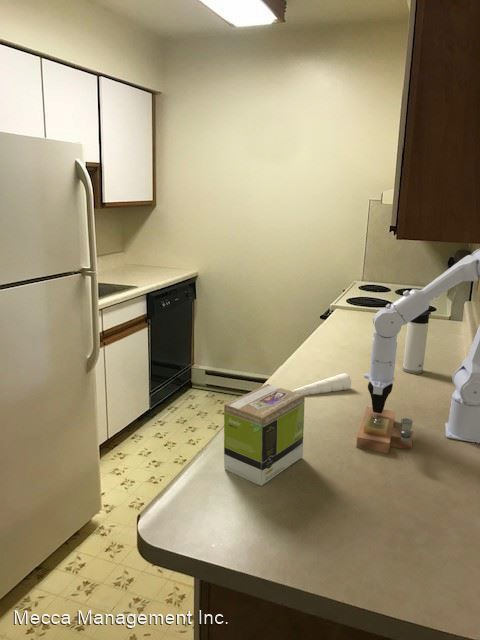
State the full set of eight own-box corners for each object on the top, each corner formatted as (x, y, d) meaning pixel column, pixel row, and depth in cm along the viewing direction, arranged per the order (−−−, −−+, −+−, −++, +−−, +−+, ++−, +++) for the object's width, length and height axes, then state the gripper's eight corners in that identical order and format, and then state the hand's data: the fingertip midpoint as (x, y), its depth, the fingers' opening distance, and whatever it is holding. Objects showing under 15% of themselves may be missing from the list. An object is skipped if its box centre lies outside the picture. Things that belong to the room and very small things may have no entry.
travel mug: (425, 375, 160) (432, 314, 155) (403, 373, 161) (410, 312, 156) (422, 368, 166) (429, 310, 161) (401, 366, 167) (407, 308, 162)
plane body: (413, 423, 125) (415, 407, 124) (410, 457, 108) (412, 439, 107) (366, 415, 129) (367, 400, 128) (356, 447, 112) (357, 429, 111)
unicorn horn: (270, 394, 142) (271, 378, 141) (343, 385, 150) (344, 370, 149) (277, 400, 138) (278, 384, 136) (351, 391, 146) (353, 376, 144)
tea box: (265, 443, 113) (268, 381, 109) (303, 458, 107) (307, 394, 103) (221, 469, 102) (223, 402, 98) (261, 488, 96) (264, 417, 92)
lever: (401, 423, 115) (402, 414, 114) (412, 425, 114) (413, 416, 113) (398, 442, 106) (400, 432, 105) (410, 444, 105) (412, 434, 104)
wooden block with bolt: (388, 425, 118) (389, 418, 117) (386, 436, 112) (386, 428, 112) (366, 421, 119) (367, 414, 119) (363, 432, 114) (364, 424, 114)
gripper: (369, 348, 128) (364, 398, 131) (362, 366, 115) (357, 420, 118) (398, 352, 125) (392, 402, 129) (394, 370, 112) (388, 426, 115)
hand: (377, 411), depth 123 cm, fingers closed
